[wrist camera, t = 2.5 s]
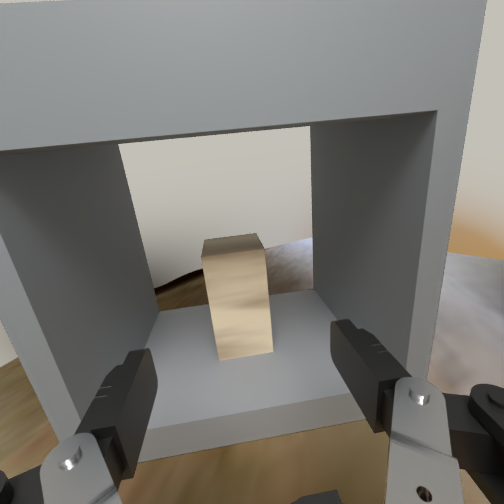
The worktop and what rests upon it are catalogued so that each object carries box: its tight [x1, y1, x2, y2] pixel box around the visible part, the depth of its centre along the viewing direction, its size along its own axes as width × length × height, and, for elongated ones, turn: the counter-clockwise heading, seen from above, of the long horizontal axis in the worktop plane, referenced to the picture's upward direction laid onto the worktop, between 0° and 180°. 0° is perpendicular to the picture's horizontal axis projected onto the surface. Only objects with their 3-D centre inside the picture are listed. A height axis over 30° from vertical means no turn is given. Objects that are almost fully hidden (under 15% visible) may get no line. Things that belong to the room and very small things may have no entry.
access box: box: [0, 0, 487, 463], centre depth 22 cm, size 18×23×26 cm
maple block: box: [201, 233, 273, 361], centre depth 24 cm, size 5×5×10 cm
